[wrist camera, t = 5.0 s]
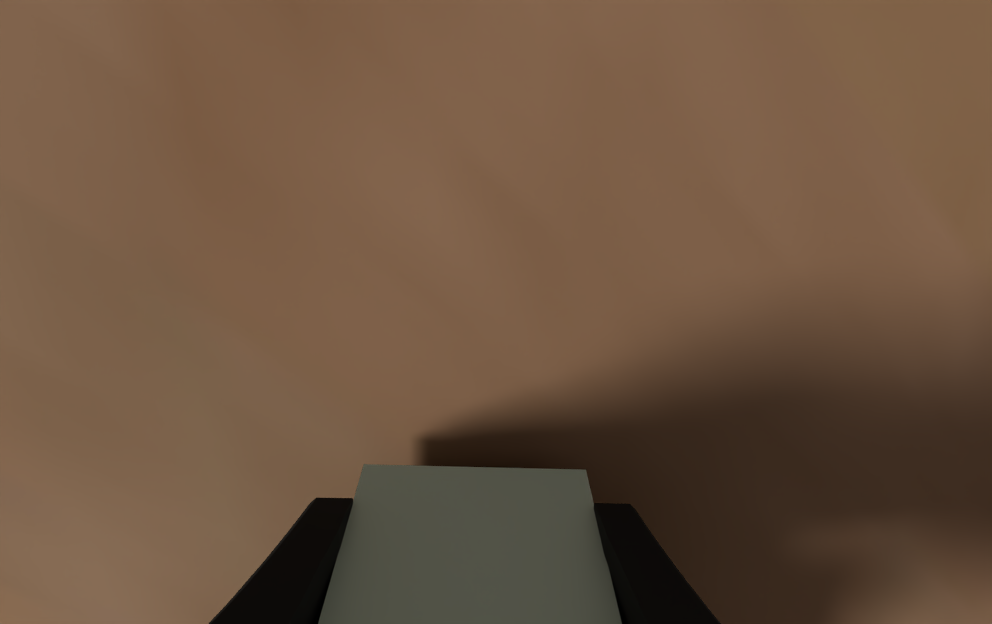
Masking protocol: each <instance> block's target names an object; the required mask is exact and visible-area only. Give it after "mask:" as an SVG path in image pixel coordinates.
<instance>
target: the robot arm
mask: <svg viewBox="0 0 992 624" xmlns="http://www.w3.org/2000/svg"><path fill="white" fill-rule="evenodd" d="M352 506H353V498H316V499H314V500H313V501H312V502H311V503H310V504H309V505H308V507H307V508H306V509H305V511H304V512H303V513H302V515H301V516H300V517H299V518H298V520H297V521H296V522H295V524H294V525H293V526H292V527H291V529H290V530H289V531H288V533H287V534H286V535H285V536H284V538H283V539H282V540H281V541H280V543H279V544H278V545H277V546H276V547H275V549H274V550H273V551H272V552H271V554H270V555H269V556H268V557H267V558H266V560H265V561H264V562H263V563H262V564H261V566H260V567H259V568H258V569H257V570H256V571H255V573H254V574H253V575H252V576H251V577H250V578H249V579H248V581H247V582H246V583H245V584H244V585H243V586H242V588H241V589H240V590H239V591H238V592H237V593H236V595H235V596H234V597H233V598H232V599H231V600H230V601H229V602H228V603H227V605H226V606H225V607H224V608H223V609H222V610H221V611H220V612H219V613H218V614H217V615H216V616H215V617H214V618H213V619H212V621H211V622H210V623H209V624H318V622H319V618H320V615H321V612H322V608H323V605H324V601H325V598H326V594H327V591H328V587H329V584H330V580H331V577H332V573H333V570H334V566H335V563H336V559H337V556H338V553H339V550H340V547H341V544H342V540H343V537H344V533H345V530H346V526H347V523H348V519H349V516H350V512H351V509H352ZM594 513H595V517H596V521H597V526H598V530H599V534H600V539H601V543H602V547H603V552H604V555H605V558H606V561H607V564H608V567H609V571H610V575H611V579H612V584H613V588H614V592H615V597H616V601H617V605H618V610H619V614H620V618H621V622H622V624H721V623H720V622H719V621H718V620H717V619H716V617H715V616H714V615H713V614H712V613H711V611H710V610H709V609H708V608H707V606H706V605H705V604H704V602H703V601H702V600H701V599H700V597H699V596H698V595H697V594H696V592H695V591H694V590H693V589H692V587H691V586H690V585H689V584H688V582H687V581H686V580H685V578H684V577H683V576H682V574H681V573H680V572H679V570H678V569H677V568H676V566H675V565H674V564H673V562H672V561H671V560H670V558H669V557H668V556H667V554H666V553H665V551H664V550H663V549H662V547H661V546H660V545H659V543H658V542H657V540H656V539H655V537H654V536H653V535H652V533H651V532H650V530H649V529H648V527H647V526H646V525H645V523H644V522H643V520H642V519H641V517H640V516H639V514H638V513H637V511H636V510H635V509H634V508H633V507H632V506H631V505H630V504H608V503H594Z"/></svg>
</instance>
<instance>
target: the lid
mask: <svg viewBox="0 0 992 624" xmlns="http://www.w3.org/2000/svg"><path fill="white" fill-rule="evenodd" d="M318 624H622V622H621V618H620V614H619V610H618V605H617V601H616V597H615V592H614V588H613V584H612V579H611V575H610V571H609V567H608V564H607V561H606V558H605V555H604V552H603V547H602V543H601V539H600V534H599V530H598V526H597V521H596V517H595V513H594V502H593V498H592V494H591V489H590V485H589V481H588V477H587V472H586V470H582V469H539V468H496V467H453V466H410V465H368V464H364V465H363V469H362V472H361V476H360V479H359V483H358V486H357V490H356V493H355V497H354V500H353V506H352V509H351V512H350V516H349V519H348V523H347V526H346V530H345V533H344V537H343V540H342V544H341V547H340V550H339V553H338V556H337V559H336V563H335V566H334V570H333V573H332V577H331V580H330V584H329V587H328V591H327V594H326V598H325V601H324V605H323V608H322V612H321V615H320V618H319V622H318Z"/></svg>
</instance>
